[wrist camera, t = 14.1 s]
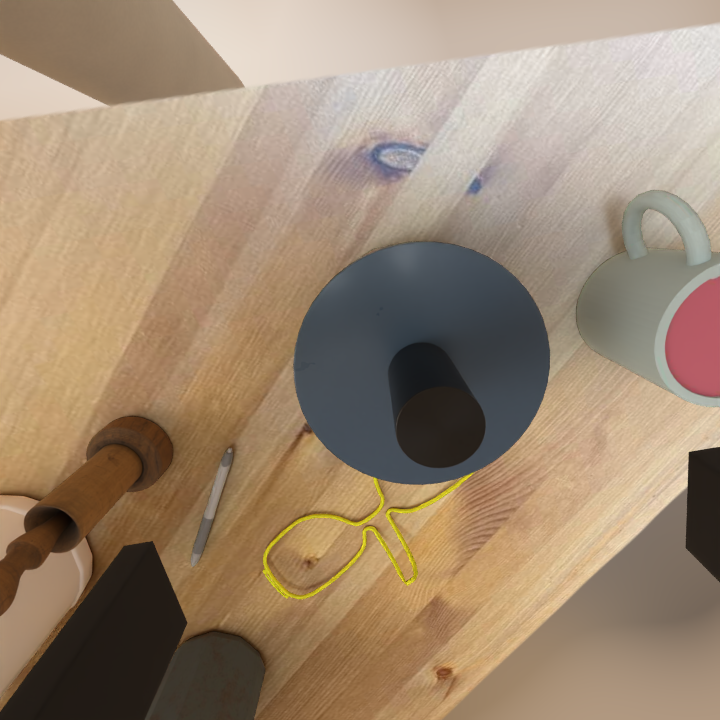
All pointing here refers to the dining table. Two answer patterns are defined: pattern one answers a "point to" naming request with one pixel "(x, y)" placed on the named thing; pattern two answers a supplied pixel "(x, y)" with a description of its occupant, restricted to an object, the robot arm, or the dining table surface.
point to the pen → (211, 506)
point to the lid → (421, 362)
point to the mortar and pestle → (86, 496)
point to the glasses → (278, 585)
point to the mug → (659, 304)
